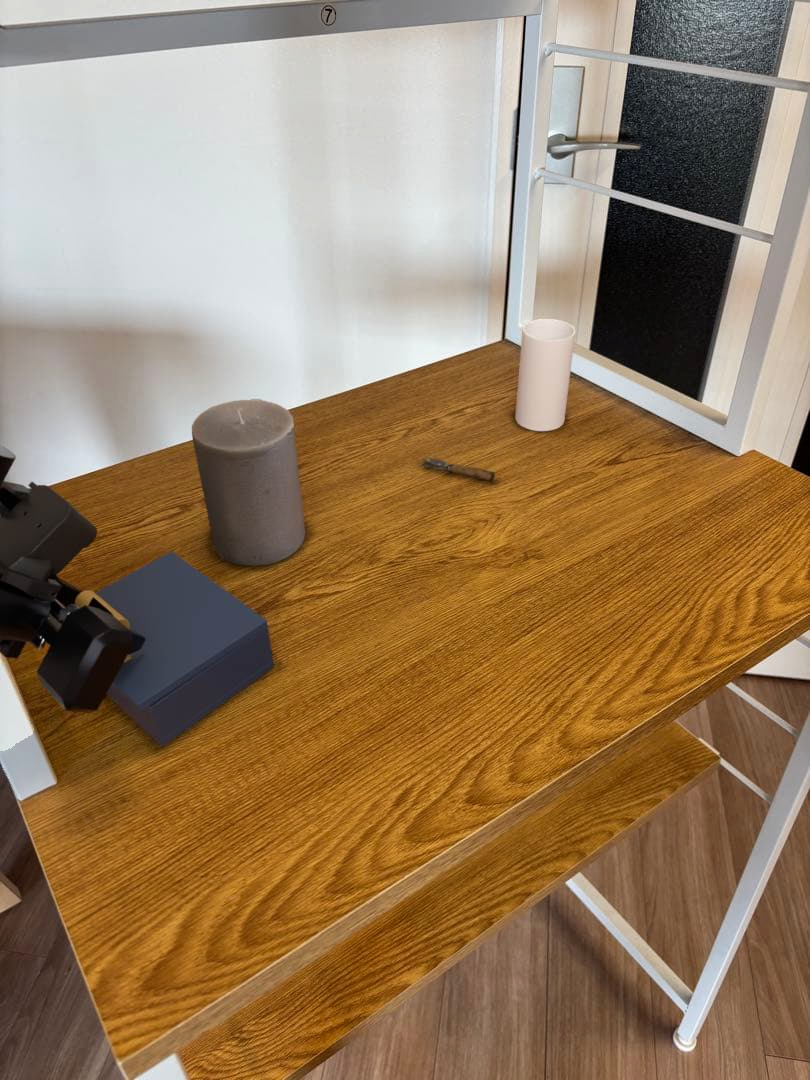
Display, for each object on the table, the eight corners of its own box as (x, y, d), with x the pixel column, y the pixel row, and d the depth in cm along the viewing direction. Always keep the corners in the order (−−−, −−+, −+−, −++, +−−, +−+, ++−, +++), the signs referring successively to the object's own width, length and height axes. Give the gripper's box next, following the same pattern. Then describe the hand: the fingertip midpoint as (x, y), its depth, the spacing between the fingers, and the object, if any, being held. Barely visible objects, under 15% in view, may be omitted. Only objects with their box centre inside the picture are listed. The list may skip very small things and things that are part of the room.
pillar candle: (204, 567, 83) (176, 438, 74) (222, 509, 90) (200, 386, 81) (301, 567, 83) (285, 438, 73) (311, 509, 90) (299, 385, 81)
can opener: (495, 478, 94) (495, 470, 93) (486, 489, 93) (487, 480, 92) (425, 458, 98) (425, 450, 97) (416, 468, 96) (415, 459, 95)
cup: (505, 420, 105) (512, 331, 97) (532, 401, 108) (540, 314, 101) (547, 436, 101) (557, 345, 94) (573, 416, 105) (585, 327, 98)
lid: (140, 712, 62) (125, 663, 59) (48, 626, 69) (31, 579, 66) (268, 627, 69) (261, 580, 66) (172, 557, 76) (162, 512, 73)
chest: (162, 747, 66) (150, 708, 63) (72, 662, 73) (58, 623, 70) (274, 666, 72) (268, 627, 69) (182, 596, 80) (173, 558, 77)
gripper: (70, 541, 48) (244, 592, 61) (-65, 429, 58) (109, 494, 71) (-20, 708, 48) (172, 723, 61) (-139, 568, 58) (48, 606, 72)
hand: (124, 627), depth 66 cm, fingers closed on lid, 5 cm apart
